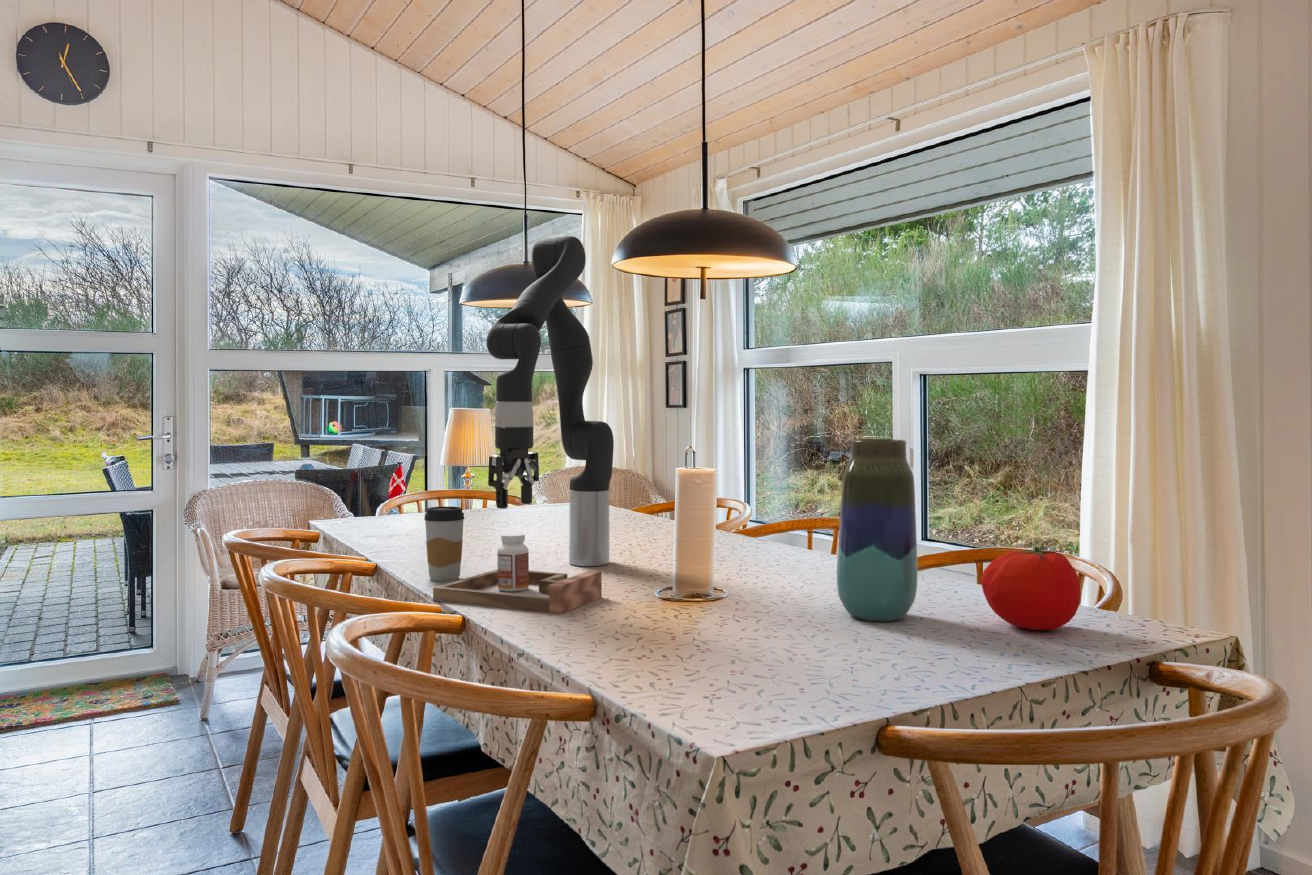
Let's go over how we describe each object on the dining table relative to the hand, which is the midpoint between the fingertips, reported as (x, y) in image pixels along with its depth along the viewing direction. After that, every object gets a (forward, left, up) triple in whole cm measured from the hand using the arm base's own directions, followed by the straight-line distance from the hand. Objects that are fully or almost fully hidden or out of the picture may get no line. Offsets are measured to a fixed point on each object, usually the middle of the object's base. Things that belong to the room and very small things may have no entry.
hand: (514, 506), depth 187 cm
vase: (-6, +70, -17) cm, 73 cm away
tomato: (-8, +95, -17) cm, 97 cm away
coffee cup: (-4, -20, -17) cm, 26 cm away
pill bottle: (-1, -1, -17) cm, 17 cm away
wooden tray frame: (+3, +5, -17) cm, 18 cm away
